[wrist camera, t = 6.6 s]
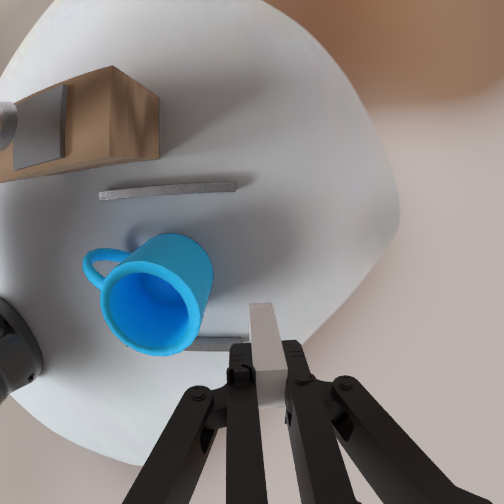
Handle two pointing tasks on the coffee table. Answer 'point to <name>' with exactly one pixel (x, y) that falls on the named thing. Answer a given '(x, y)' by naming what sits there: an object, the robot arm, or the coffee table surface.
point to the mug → (154, 292)
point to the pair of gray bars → (209, 187)
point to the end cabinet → (83, 126)
